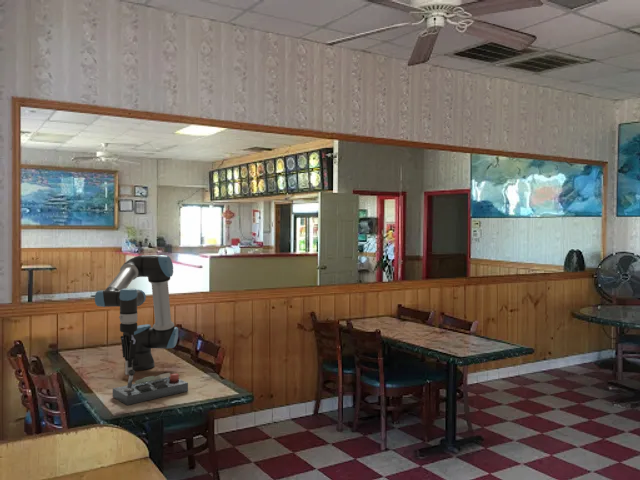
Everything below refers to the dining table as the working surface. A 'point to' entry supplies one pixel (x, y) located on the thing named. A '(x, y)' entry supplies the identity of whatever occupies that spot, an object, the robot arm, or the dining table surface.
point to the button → (174, 377)
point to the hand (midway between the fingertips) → (128, 374)
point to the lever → (130, 378)
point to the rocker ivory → (161, 376)
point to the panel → (149, 390)
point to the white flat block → (144, 380)
